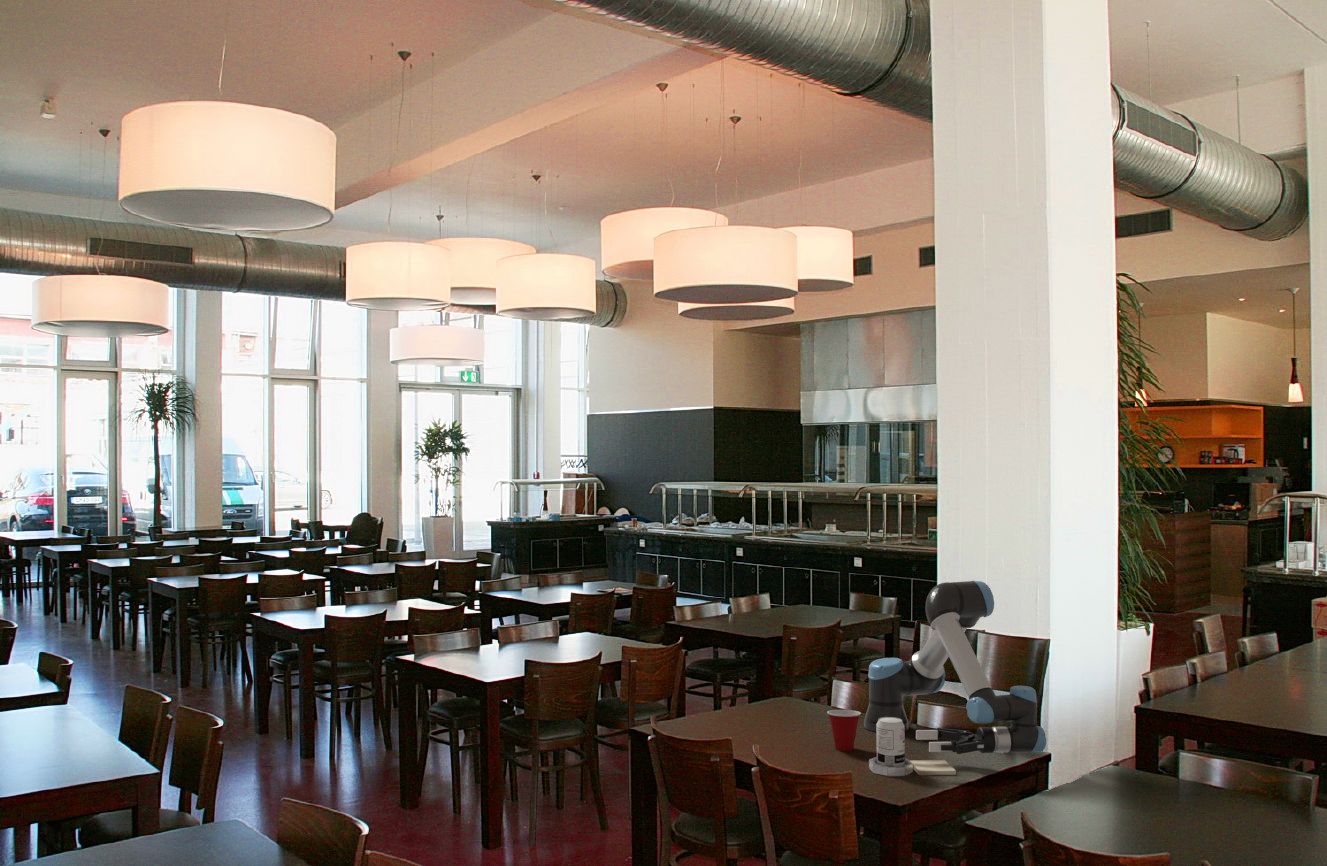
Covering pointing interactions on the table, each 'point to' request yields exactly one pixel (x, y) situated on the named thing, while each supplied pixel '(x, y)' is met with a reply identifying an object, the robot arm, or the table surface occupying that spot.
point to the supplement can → (890, 742)
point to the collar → (891, 768)
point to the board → (932, 767)
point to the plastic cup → (844, 728)
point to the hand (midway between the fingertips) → (922, 740)
